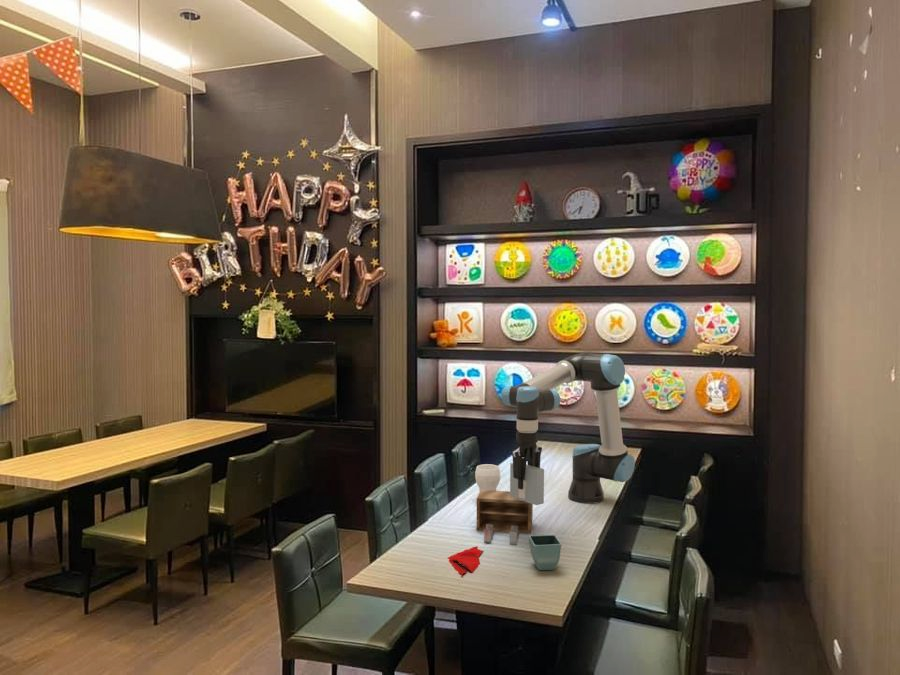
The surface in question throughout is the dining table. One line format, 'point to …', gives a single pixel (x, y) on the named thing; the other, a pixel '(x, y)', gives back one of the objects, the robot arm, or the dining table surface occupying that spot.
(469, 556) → the cloth
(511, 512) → the cabinet
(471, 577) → the dining table surface
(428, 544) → the dining table surface
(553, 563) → the flower pot
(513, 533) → the hinge clips
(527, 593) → the dining table surface
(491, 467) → the cup
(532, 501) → the door
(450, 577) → the dining table surface
